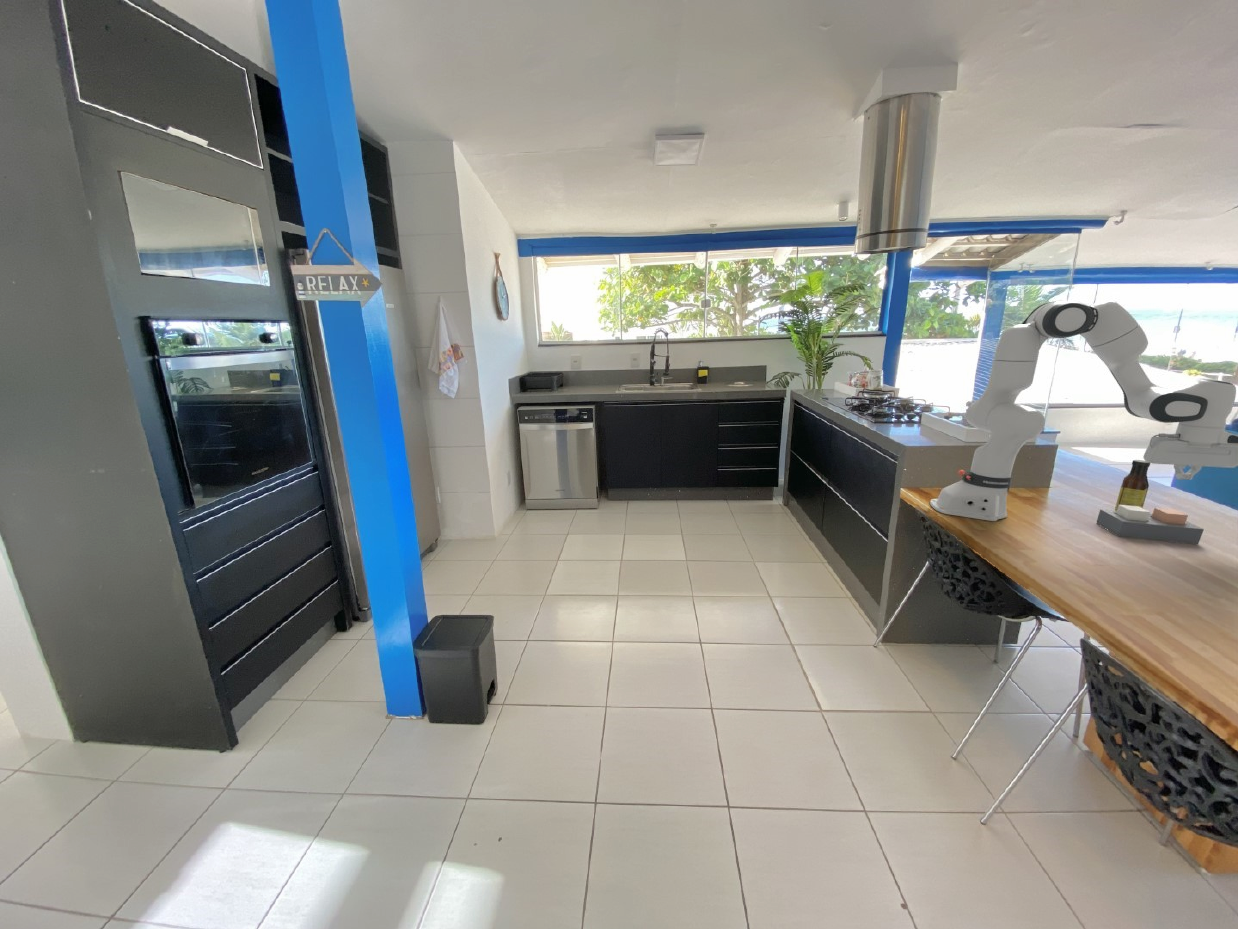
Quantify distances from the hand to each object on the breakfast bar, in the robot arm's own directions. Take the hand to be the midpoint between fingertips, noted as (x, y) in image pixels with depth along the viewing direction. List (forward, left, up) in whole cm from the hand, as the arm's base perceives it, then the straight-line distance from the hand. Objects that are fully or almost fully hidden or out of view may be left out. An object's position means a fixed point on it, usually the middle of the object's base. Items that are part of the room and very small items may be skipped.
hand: (1183, 479), depth 142 cm
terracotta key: (0, 0, -15) cm, 15 cm away
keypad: (-5, 0, -19) cm, 19 cm away
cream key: (-9, 0, -15) cm, 17 cm away
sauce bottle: (-1, +16, -19) cm, 25 cm away
